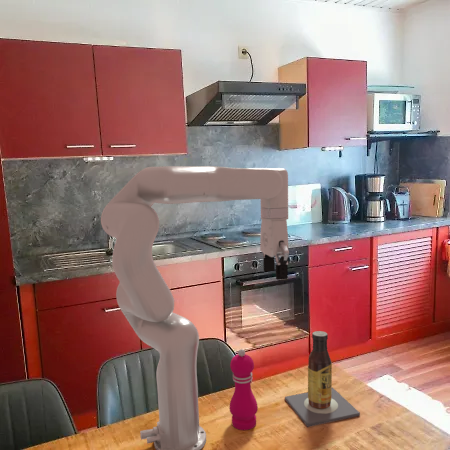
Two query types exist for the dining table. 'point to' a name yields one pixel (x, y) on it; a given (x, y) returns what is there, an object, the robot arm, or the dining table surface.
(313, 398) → the sauce bottle
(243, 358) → the pepper mill
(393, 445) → the dining table surface
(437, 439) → the dining table surface
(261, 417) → the dining table surface
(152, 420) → the dining table surface
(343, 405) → the bottle mat
